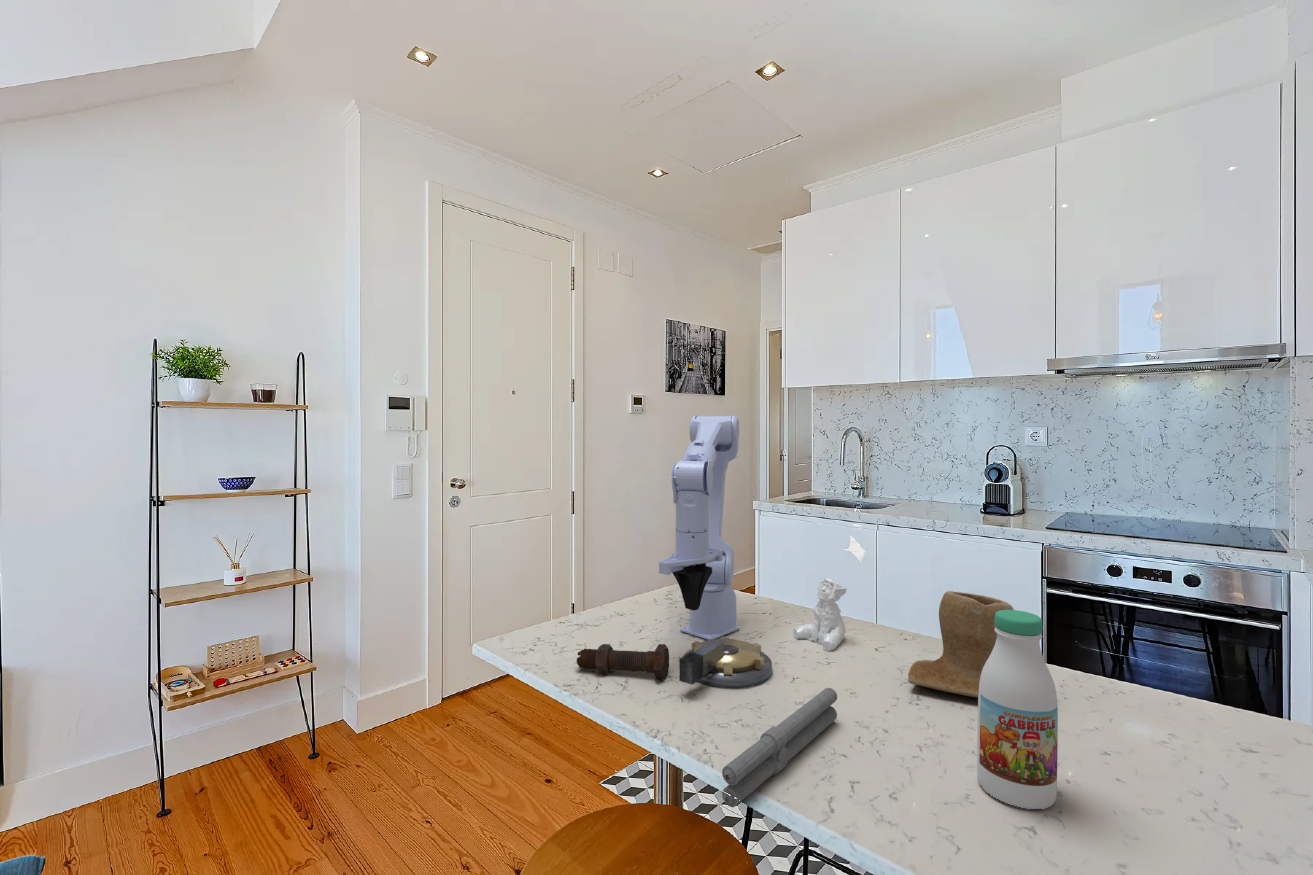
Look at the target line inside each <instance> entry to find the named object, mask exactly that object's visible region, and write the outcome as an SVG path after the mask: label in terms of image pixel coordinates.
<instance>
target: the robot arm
mask: <svg viewBox="0 0 1313 875" xmlns="http://www.w3.org/2000/svg"><path fill="white" fill-rule="evenodd" d="M689 439H690V443H689V444H688V446H687V447H686V450H685V452H684V455H683V456H682V459H681V460H678V462H676V463H673V465H672V469H671V487H672V494H673V497H672V498H673V500H672V501H673V504H674V505H675V552H672V553H671V555H672V556H670V557H667V558H666V559H663V560H659V561H658V573H659V574H662V575H665V576H669V575H671V574H673V576H674V578H675V580H676V581H677V584H678V587H679V589H680V592H681V595H682V598H683V604H684V607H685V609H687V610H689V625H686V626H683V627H681V628H680V632H682V633H686V634H688V635H691V636H695V637H698V638H701V639H704V640H706V641H707V640H712V639H720V638H722V637H725V635H729V634H731V633H734V632H736V631H738V630H740V629H741V628H740V626H739V625H737V596H736V592H735V590H734V587H732V585H733V583H734V576H735V575H734V574H735V573H734V572H735V560H734V557H735V556H734V555H735V554H734V553H735V552H734V549H733V547H732V546H731V544H729V543H728V542H726V540H724V539H723V538H722V528H723V516H724V501H725V487H726V474H727V471H728V466H729V463H730V462H732V461H733V460H735V459H737V457H738V452H739V442H740V420H739V418H738V416H737V415H693V416H692V417H691V419H690V421H689Z"/></svg>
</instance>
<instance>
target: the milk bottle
mask: <svg viewBox="0 0 1313 875" xmlns="http://www.w3.org/2000/svg"><path fill="white" fill-rule="evenodd" d="M1043 625H1044V624H1043V620H1042V618H1041V616H1038V615H1037V614H1035V613H1031V612H1028V611H1023V610H1017V609H1014V610H1000V611H997V612H996V613H995V629H994V630H995V632H996V633H997V639H996V643H995V646H994V648H993V651H992V653H991V654H990V656H989V658H988V660H987V661H986V663H985V665H984V667H983V670H982V673H981V676H980V682H979V696H978V698H977V702H978V703H977V738H976V739H977V741H976V742H977V744H976V745H977V747H976V748H977V749H976V750H977V754H976V756H977V757H976V763H977V766H976V768H977V769H976V772H977V773H976V774H977V781H978V783H979V786H980V787H981V786H982V787H981V789H983V791H984V792H985V793H987V794H988V793H989V794H990V795H989V794H988V795H989V796H991V797H992V796H993V797H992V798H994V797H995V798H996V800H997V799H999V800H1001V801H1004V802H1007V803H1009V804H1012V805H1014V806H1013V807H1015V806H1017V807H1016V808H1018V807H1021V808H1020V809H1023V808H1027V809H1026V810H1029V809H1042V810H1045V809H1044V808H1046V809H1049V808H1051V807H1052V806H1053V805H1054V804H1055V802H1056V800H1057V796H1058V795H1057V794H1058V793H1057V790H1058V751H1059V749H1058V742H1059V741H1058V740H1059V738H1058V736H1059V732H1058V731H1059V730H1058V728H1059V723H1058V720H1059V717H1058V716H1059V712H1058V711H1059V710H1058V707H1059V706H1058V694H1057V689H1056V688H1057V687H1056V685H1055V681H1054V679H1053V676H1052V675H1051V674H1052V673H1051V672H1050V670H1049V668H1048V666H1047V664H1046V661H1045V659H1044V656H1043V652H1042V649H1041V646H1040V645H1041V643H1040V642H1041V641H1040V640H1041V639H1043V635H1042V633H1043V629H1044V628H1043V627H1044V626H1043ZM995 798H994V799H995ZM999 800H998V801H999ZM1001 801H1000V802H1001ZM1051 805H1052V806H1051ZM1050 806H1051V807H1050ZM1048 807H1049V808H1048Z"/></svg>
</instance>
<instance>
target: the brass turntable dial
mask: <svg viewBox="0 0 1313 875" xmlns="http://www.w3.org/2000/svg"><path fill="white" fill-rule="evenodd" d="M691 649H692V652H690V653H688V654H687V655H685V656H682V657H680V658H678V659H679V664H678V667H679V674H678V675H679V676H678V678H679V682H681V683H685V684H689V685H694V684H696V683H697V681H699V680H700V679H701V678H703V676H704V675H705V674H707V673H708V672H710V671H711V670H712V671H717V672H723V673H724V675H733V673H734V672H744V671H748V670H751V669H754V668H756V669H762V668H763V667H764V657H760V654H761V652H762V645H761V644H759V643H757V642H754V643H750V642H747V641H745V640H740V639H734V638H730V636H721V638H716V639H712V640H707V639H706V640H704V641H703V640H702V641H701V642H700V641H696V640H695V641H694V642H691Z"/></svg>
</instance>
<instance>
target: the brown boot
mask: <svg viewBox="0 0 1313 875" xmlns="http://www.w3.org/2000/svg"><path fill="white" fill-rule="evenodd" d="M938 607H939V609H938V620H939V621H938V622H939V628H940V635H941V640H942V647H943V649H942V654H941V656H940V657H938V658H937V659H935V660H928V659H922V660H917V661H914V662H913V663H912V664H911V666H910V668H909V670H908V673H907V677H908V678H907V682H908V684H911V685H915V686H920V687H924V688H928V689H932V690H937V691H941V692H945V693H952V694H957V695H962V696H965V697H970V698H971V697H972V698H976V699H978V696H979V682H980V676H981V673H982V670H983V667H984V665H985V663H986V661H987V660H988V658H989V656H990V654H991V653H992V651H993V648H994V646H995V643H996V639H997V633H996V632H995V630H994V629H995V613H996V612H997V611H1000V610H1015V609H1014V607H1013V606H1012V605H1011V604H1010V603H1008V602H1006V601H1004V600H1002V599H999V598H995V597H992V596H987V595H981V594H976V593H969V592H961V591H954V590H952V591H951V590H947V591H946V592H945V593H944V594H943V595H942V598H941V601H940V603H939V606H938Z"/></svg>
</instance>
